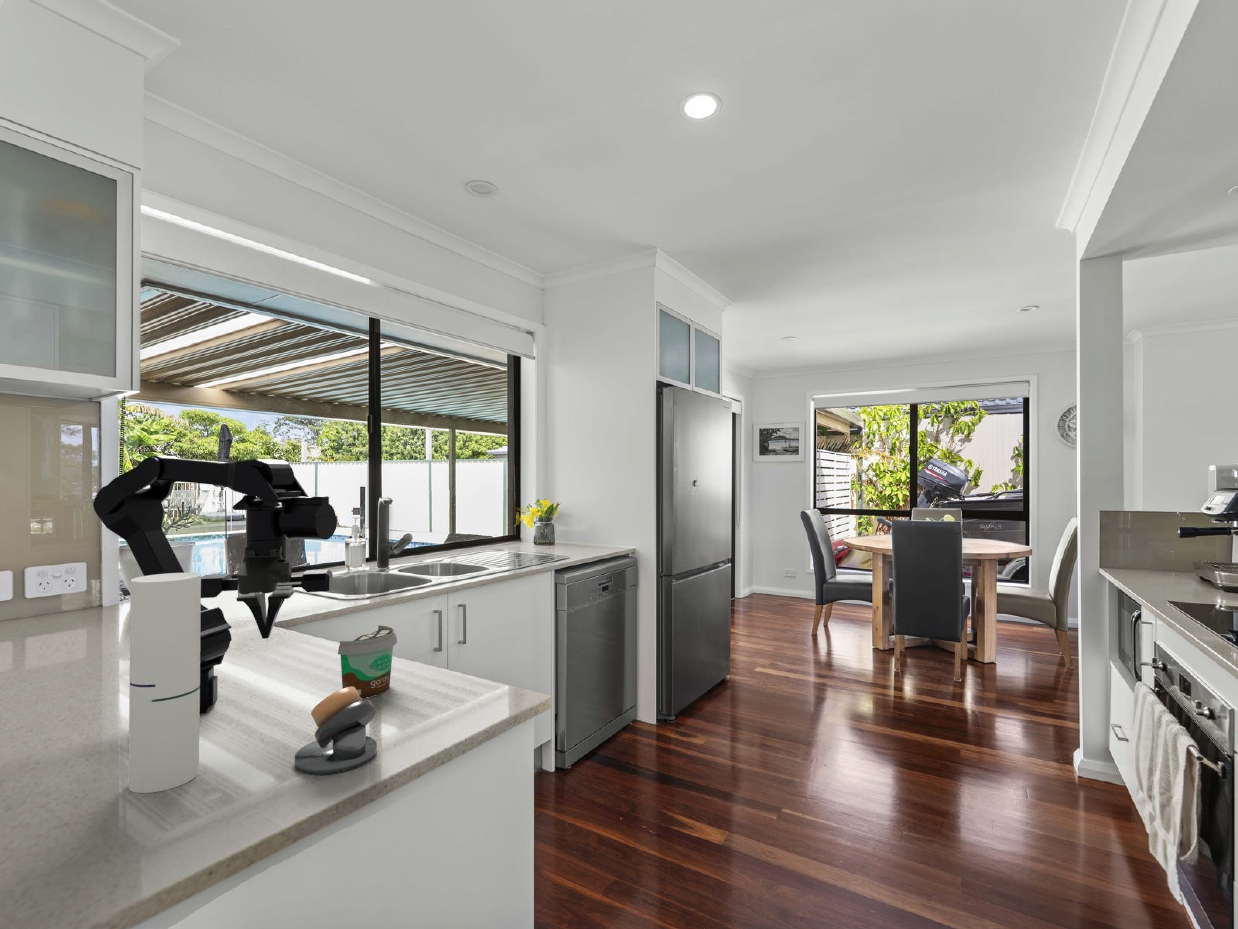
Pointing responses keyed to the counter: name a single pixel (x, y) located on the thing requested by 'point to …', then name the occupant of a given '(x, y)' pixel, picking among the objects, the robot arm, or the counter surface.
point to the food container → (368, 662)
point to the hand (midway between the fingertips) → (265, 638)
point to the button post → (340, 742)
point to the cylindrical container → (164, 681)
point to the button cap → (334, 704)
